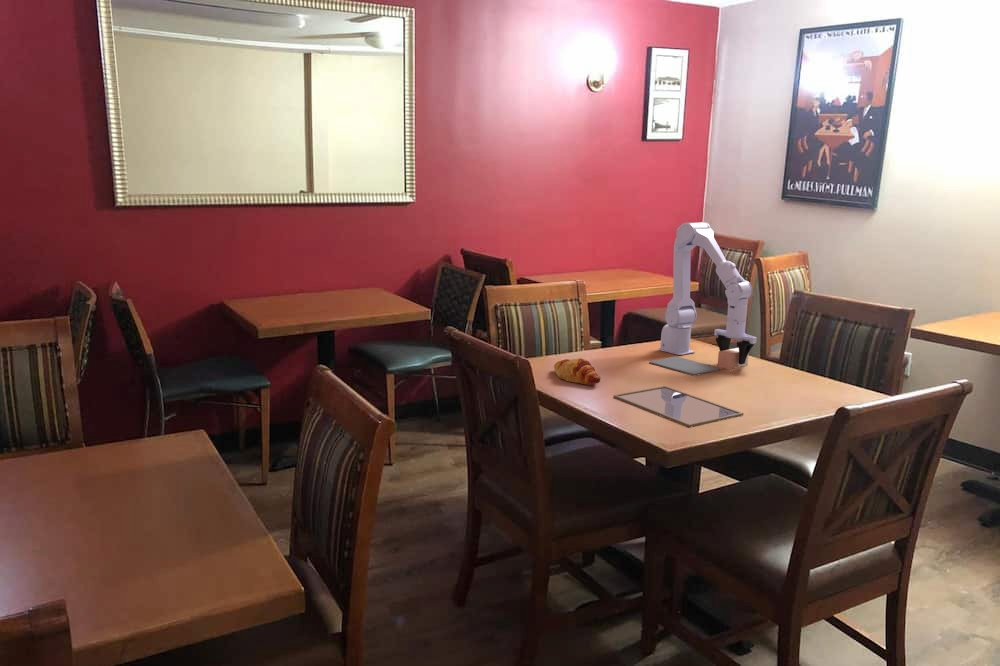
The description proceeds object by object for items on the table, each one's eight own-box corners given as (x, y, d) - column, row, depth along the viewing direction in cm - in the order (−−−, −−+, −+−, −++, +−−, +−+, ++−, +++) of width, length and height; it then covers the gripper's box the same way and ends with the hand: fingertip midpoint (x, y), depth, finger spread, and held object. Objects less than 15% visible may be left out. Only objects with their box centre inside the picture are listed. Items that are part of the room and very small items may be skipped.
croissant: (547, 383, 236) (537, 361, 233) (571, 364, 240) (561, 343, 237) (591, 399, 219) (581, 377, 215) (616, 379, 222) (606, 356, 219)
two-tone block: (717, 366, 245) (718, 351, 244) (736, 362, 251) (738, 347, 250) (727, 369, 242) (729, 354, 241) (747, 365, 248) (748, 350, 247)
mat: (649, 363, 248) (649, 361, 248) (676, 357, 256) (676, 356, 256) (694, 375, 234) (694, 374, 234) (721, 369, 242) (721, 368, 242)
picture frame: (743, 416, 198) (665, 389, 221) (743, 413, 198) (665, 386, 221) (689, 429, 188) (613, 398, 211) (689, 425, 188) (613, 395, 211)
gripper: (709, 317, 247) (706, 358, 250) (748, 324, 235) (744, 368, 238) (723, 314, 251) (720, 355, 254) (762, 322, 240) (758, 365, 243)
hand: (732, 361), depth 246 cm, fingers open, 6 cm apart
